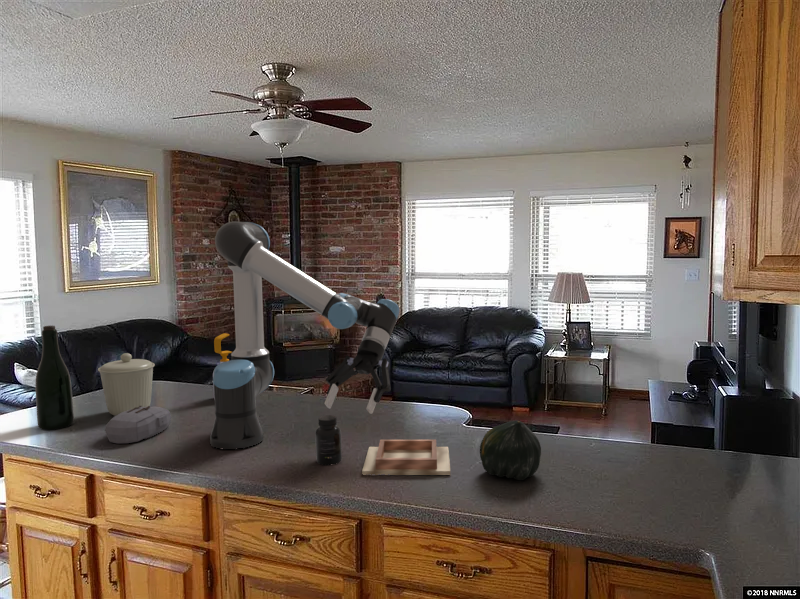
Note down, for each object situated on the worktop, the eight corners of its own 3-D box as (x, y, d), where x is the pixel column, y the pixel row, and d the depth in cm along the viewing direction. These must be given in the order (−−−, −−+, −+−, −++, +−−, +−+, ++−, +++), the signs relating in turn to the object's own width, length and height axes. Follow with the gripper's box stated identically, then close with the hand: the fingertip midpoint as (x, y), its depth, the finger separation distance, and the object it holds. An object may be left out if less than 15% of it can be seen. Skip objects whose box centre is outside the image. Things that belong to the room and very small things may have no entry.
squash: (476, 440, 162) (482, 409, 151) (533, 442, 161) (543, 411, 150) (479, 491, 152) (485, 462, 141) (539, 493, 152) (550, 464, 141)
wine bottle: (55, 432, 193) (47, 328, 190) (30, 429, 197) (22, 327, 194) (81, 422, 203) (75, 324, 200) (57, 420, 207) (50, 323, 203)
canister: (139, 403, 227) (135, 347, 225) (167, 410, 216) (164, 351, 214) (90, 415, 212) (86, 355, 210) (118, 423, 201) (114, 360, 199)
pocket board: (362, 475, 153) (361, 461, 153) (369, 450, 171) (369, 438, 171) (450, 475, 152) (450, 461, 152) (448, 450, 170) (448, 437, 169)
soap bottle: (243, 397, 232) (240, 333, 229) (221, 402, 225) (218, 336, 223) (230, 394, 238) (227, 331, 236) (209, 398, 231) (206, 334, 229)
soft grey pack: (139, 424, 201) (93, 444, 181) (137, 399, 200) (91, 416, 181) (178, 427, 197) (136, 448, 177) (177, 402, 196) (135, 420, 177)
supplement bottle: (316, 457, 167) (315, 414, 165) (342, 456, 167) (340, 413, 166) (315, 466, 160) (314, 421, 159) (341, 465, 160) (340, 420, 159)
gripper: (415, 355, 178) (392, 420, 166) (342, 350, 189) (316, 410, 177) (406, 340, 172) (382, 406, 161) (332, 336, 184) (304, 397, 172)
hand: (347, 408), depth 169 cm, fingers open, 13 cm apart
